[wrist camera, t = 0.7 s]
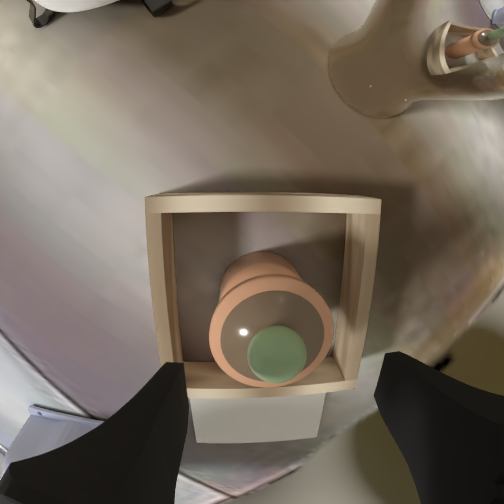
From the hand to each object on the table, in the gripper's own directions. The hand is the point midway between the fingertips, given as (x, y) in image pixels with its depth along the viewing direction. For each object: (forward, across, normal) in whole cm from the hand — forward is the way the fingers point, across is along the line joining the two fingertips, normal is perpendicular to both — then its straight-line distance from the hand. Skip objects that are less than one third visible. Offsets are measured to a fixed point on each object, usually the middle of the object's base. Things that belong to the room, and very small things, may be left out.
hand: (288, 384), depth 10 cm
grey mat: (+9, 0, +11) cm, 14 cm away
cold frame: (+9, 0, 0) cm, 9 cm away
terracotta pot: (+9, 0, 0) cm, 9 cm away
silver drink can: (+10, -7, -14) cm, 18 cm away
